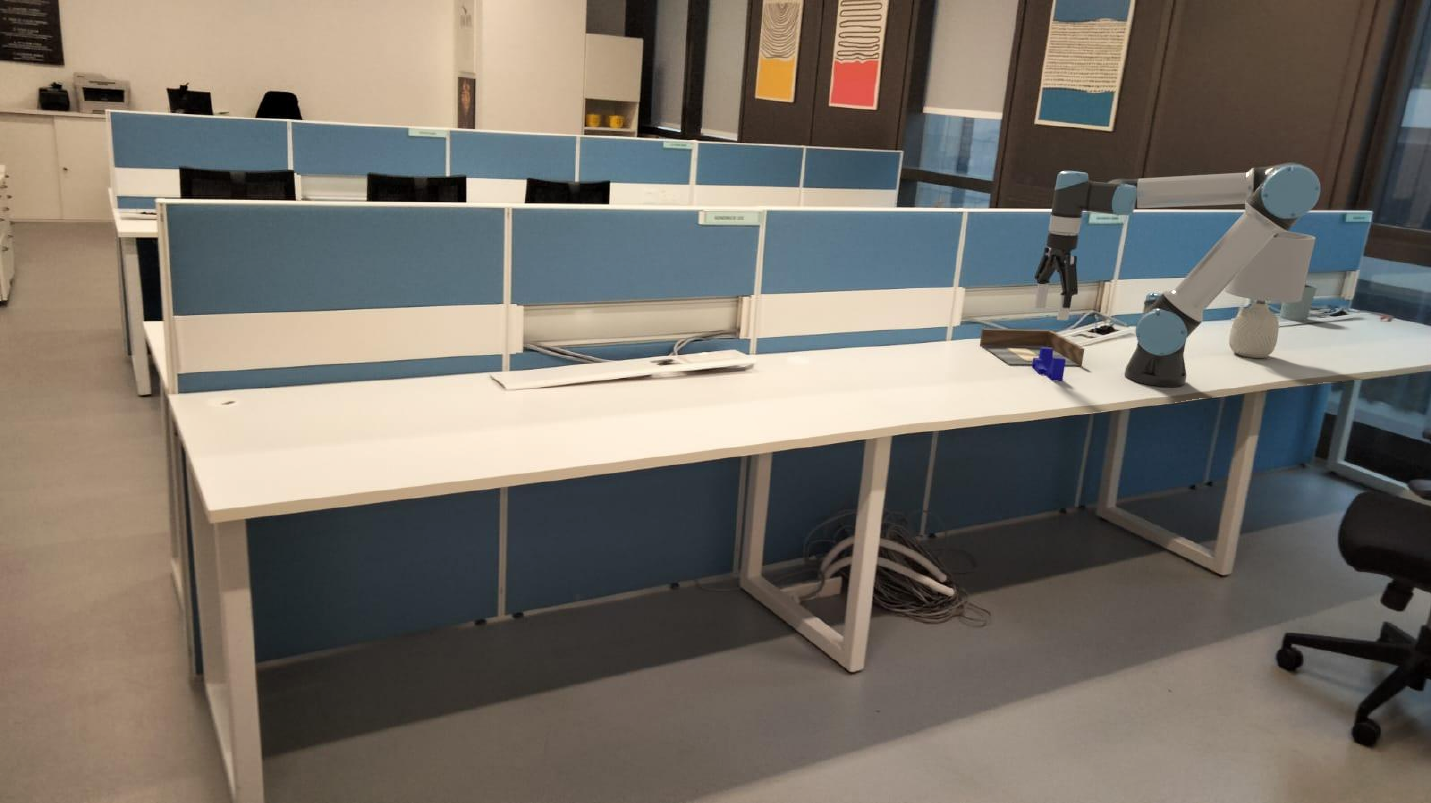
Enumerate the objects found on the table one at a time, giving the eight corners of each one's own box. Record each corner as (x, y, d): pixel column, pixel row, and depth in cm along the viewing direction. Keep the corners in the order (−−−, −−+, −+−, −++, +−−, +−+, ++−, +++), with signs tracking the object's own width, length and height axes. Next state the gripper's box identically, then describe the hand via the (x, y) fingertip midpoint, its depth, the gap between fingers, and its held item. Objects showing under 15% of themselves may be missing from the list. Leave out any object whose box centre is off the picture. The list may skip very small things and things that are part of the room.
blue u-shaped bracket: (1031, 368, 284) (1034, 346, 282) (1048, 368, 284) (1051, 347, 282) (1045, 380, 272) (1048, 358, 271) (1062, 381, 273) (1065, 359, 271)
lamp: (1269, 367, 297) (1297, 239, 286) (1199, 351, 312) (1224, 228, 301) (1299, 358, 310) (1327, 234, 299) (1231, 343, 324) (1256, 224, 313)
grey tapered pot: (1279, 319, 364) (1287, 285, 361) (1274, 313, 373) (1282, 280, 370) (1312, 322, 361) (1320, 288, 358) (1306, 317, 370) (1314, 283, 367)
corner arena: (1081, 366, 288) (1084, 348, 286) (1008, 365, 285) (1011, 347, 283) (1048, 346, 308) (1050, 330, 306) (979, 345, 305) (982, 328, 303)
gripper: (1100, 241, 256) (1086, 325, 262) (1055, 226, 279) (1043, 303, 286) (1072, 240, 255) (1058, 324, 261) (1029, 225, 278) (1017, 303, 284)
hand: (1050, 314), depth 273 cm, fingers open, 13 cm apart
